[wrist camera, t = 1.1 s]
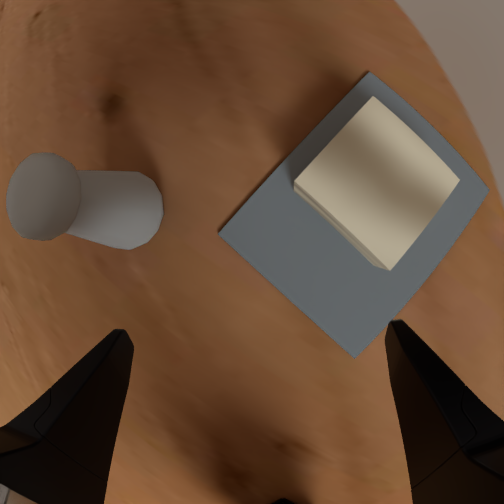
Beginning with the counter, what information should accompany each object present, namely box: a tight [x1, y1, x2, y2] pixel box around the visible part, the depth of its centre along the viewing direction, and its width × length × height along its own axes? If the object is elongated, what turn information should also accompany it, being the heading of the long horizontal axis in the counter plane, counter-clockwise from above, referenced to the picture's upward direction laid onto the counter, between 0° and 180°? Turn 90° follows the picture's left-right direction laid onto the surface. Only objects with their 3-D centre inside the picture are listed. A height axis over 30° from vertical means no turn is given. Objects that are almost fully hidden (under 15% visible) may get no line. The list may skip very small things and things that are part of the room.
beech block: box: [294, 96, 460, 271], centre depth 20 cm, size 8×8×4 cm
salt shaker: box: [6, 153, 164, 250], centre depth 18 cm, size 6×6×13 cm
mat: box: [218, 72, 489, 359], centre depth 22 cm, size 18×14×1 cm
